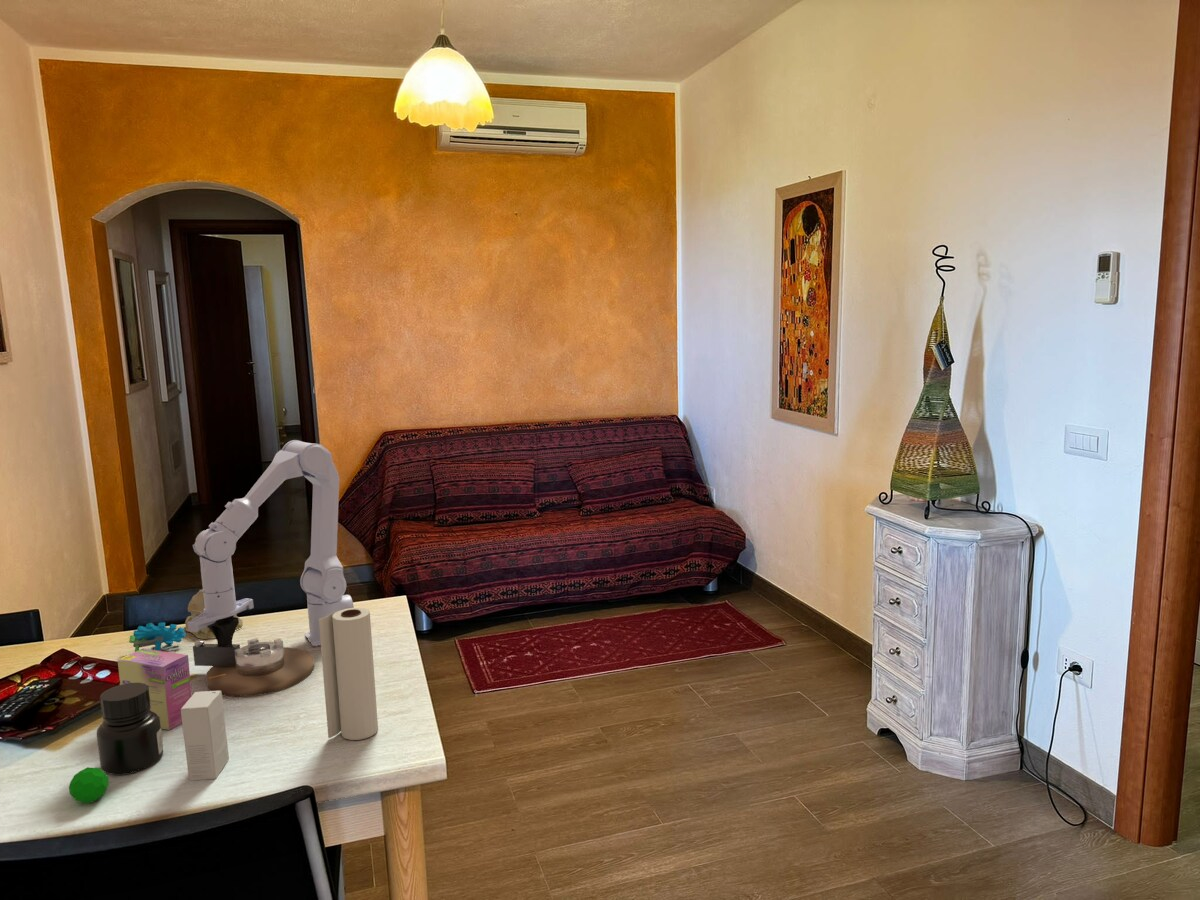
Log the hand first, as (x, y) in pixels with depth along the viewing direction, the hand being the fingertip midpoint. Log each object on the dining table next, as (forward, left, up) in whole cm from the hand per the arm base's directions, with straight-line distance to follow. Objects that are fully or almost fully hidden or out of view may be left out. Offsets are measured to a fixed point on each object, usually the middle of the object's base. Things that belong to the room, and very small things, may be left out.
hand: (225, 653), depth 171 cm
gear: (+11, -19, -4) cm, 22 cm away
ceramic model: (-1, -27, -4) cm, 27 cm away
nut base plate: (-5, +7, -3) cm, 9 cm away
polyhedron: (+25, +40, -4) cm, 47 cm away
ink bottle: (+19, +31, -4) cm, 36 cm away
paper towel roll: (-14, +42, -4) cm, 44 cm away
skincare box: (+9, +41, -4) cm, 42 cm away
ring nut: (-2, +4, -2) cm, 4 cm away
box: (+14, +17, -4) cm, 22 cm away
